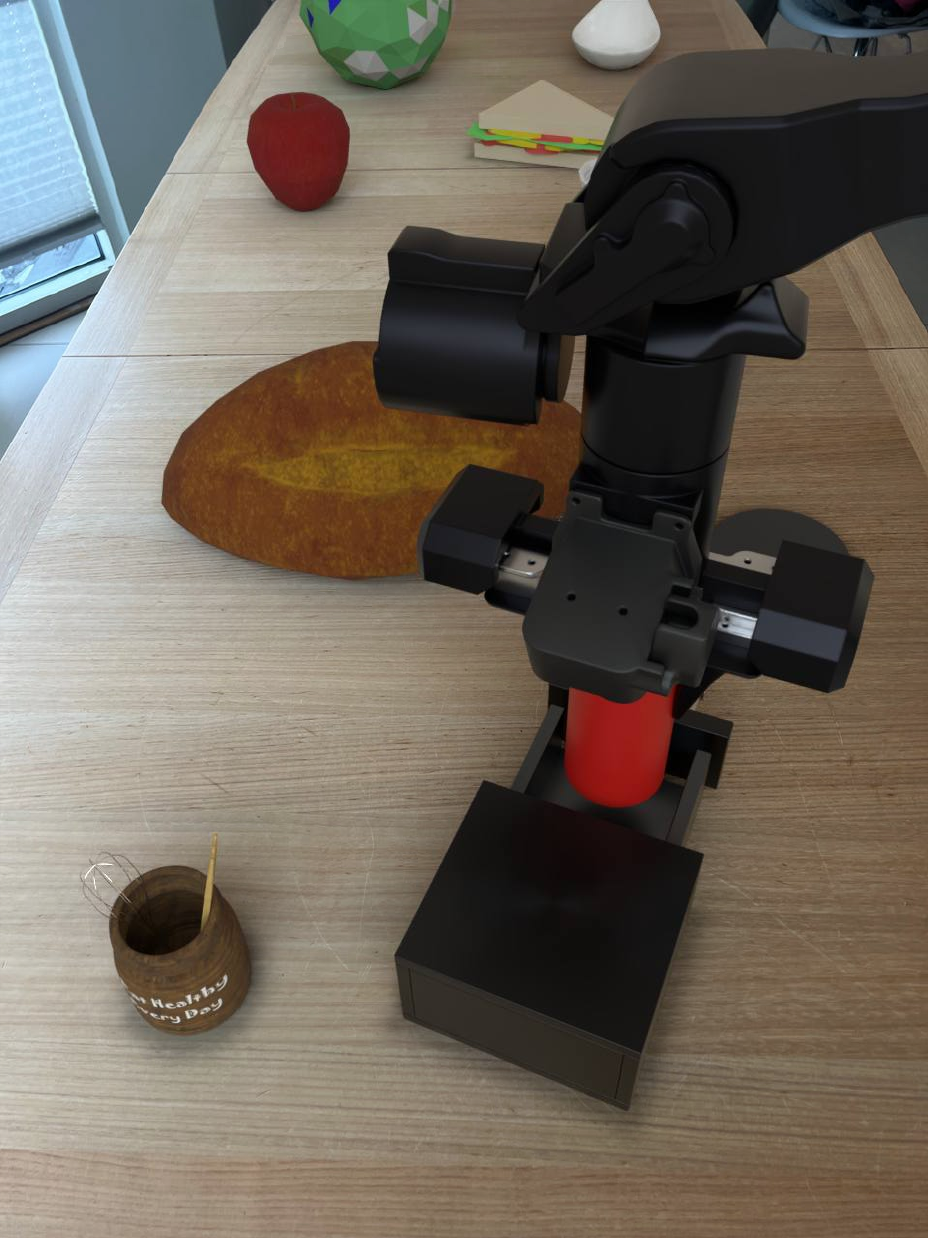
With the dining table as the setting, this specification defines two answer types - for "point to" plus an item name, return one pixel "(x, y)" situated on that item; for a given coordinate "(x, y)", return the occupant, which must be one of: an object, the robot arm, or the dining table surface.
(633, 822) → the drawer
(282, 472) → the bread
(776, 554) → the disc
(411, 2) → the decorative sphere
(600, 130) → the sandwich
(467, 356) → the robot arm
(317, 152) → the apple
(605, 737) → the ketchup bottle
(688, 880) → the cabinet
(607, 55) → the spoon rest
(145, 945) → the utensil holder
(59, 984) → the dining table surface
